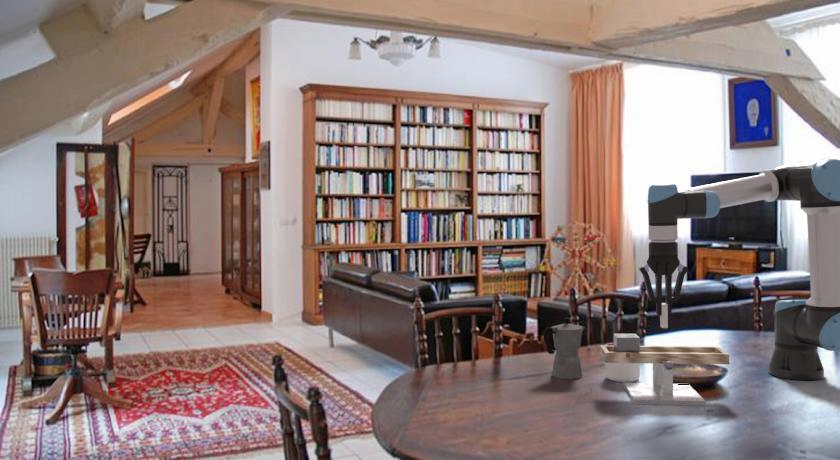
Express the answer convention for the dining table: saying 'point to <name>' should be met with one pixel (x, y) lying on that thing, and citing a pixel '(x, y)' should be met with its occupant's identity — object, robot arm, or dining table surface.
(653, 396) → the stand
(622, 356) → the beam
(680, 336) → the dining table surface
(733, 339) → the dining table surface
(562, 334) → the coffeepot
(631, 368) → the cup
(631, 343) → the block
